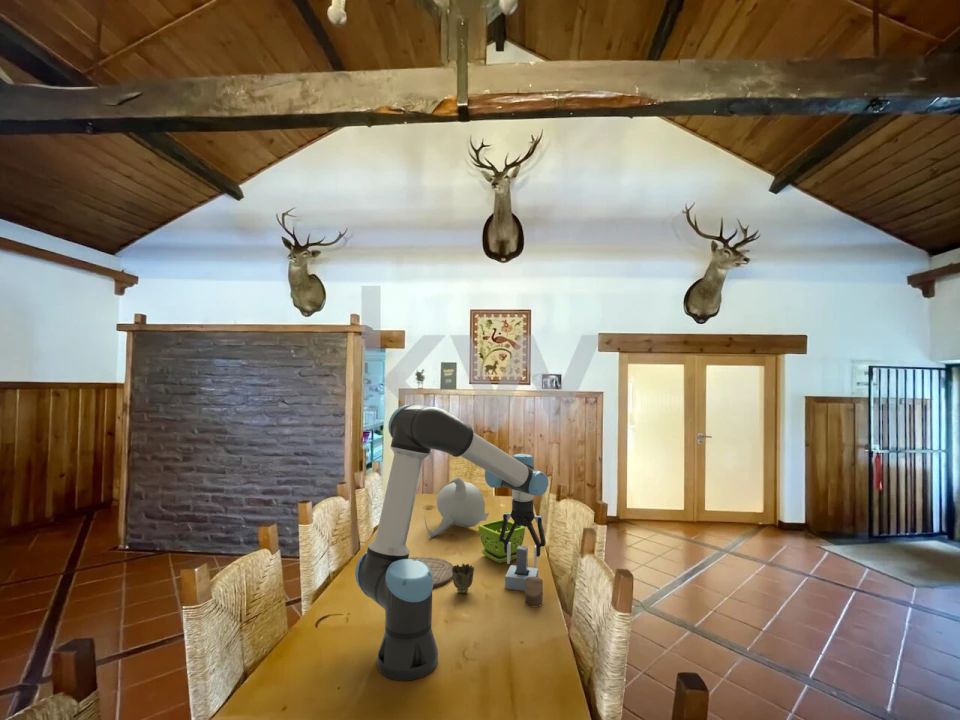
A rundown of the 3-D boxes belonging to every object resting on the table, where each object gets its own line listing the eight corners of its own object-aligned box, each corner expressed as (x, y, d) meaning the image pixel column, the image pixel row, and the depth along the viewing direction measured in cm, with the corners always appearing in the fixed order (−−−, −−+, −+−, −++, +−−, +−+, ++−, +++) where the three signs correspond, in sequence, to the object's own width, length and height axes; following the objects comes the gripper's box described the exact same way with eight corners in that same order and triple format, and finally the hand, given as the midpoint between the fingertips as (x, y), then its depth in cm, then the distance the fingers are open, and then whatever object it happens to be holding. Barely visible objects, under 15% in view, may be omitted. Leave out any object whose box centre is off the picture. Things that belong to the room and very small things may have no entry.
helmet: (500, 489, 221) (455, 483, 194) (475, 545, 221) (426, 547, 194) (466, 466, 237) (419, 458, 210) (442, 519, 236) (393, 518, 209)
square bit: (525, 585, 159) (526, 549, 160) (516, 583, 160) (516, 548, 161) (527, 581, 162) (527, 546, 163) (517, 579, 163) (518, 545, 164)
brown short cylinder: (541, 607, 145) (541, 585, 145) (523, 605, 146) (524, 582, 146) (543, 599, 150) (543, 577, 150) (526, 597, 152) (527, 575, 152)
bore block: (534, 592, 155) (534, 580, 155) (504, 588, 158) (505, 576, 158) (538, 579, 165) (538, 568, 165) (510, 576, 167) (510, 565, 168)
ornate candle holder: (454, 598, 150) (454, 573, 150) (449, 588, 157) (449, 564, 157) (476, 596, 152) (476, 571, 152) (470, 586, 159) (471, 562, 159)
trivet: (443, 594, 153) (443, 588, 153) (373, 586, 158) (373, 581, 158) (461, 564, 178) (461, 559, 178) (400, 558, 183) (400, 554, 183)
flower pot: (503, 548, 194) (504, 518, 195) (526, 559, 183) (526, 527, 184) (477, 555, 186) (477, 524, 187) (498, 567, 175) (499, 533, 175)
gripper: (554, 498, 163) (554, 563, 162) (495, 493, 169) (494, 556, 168) (552, 504, 156) (551, 572, 155) (490, 498, 162) (489, 564, 161)
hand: (522, 563), depth 162 cm, fingers open, 9 cm apart
